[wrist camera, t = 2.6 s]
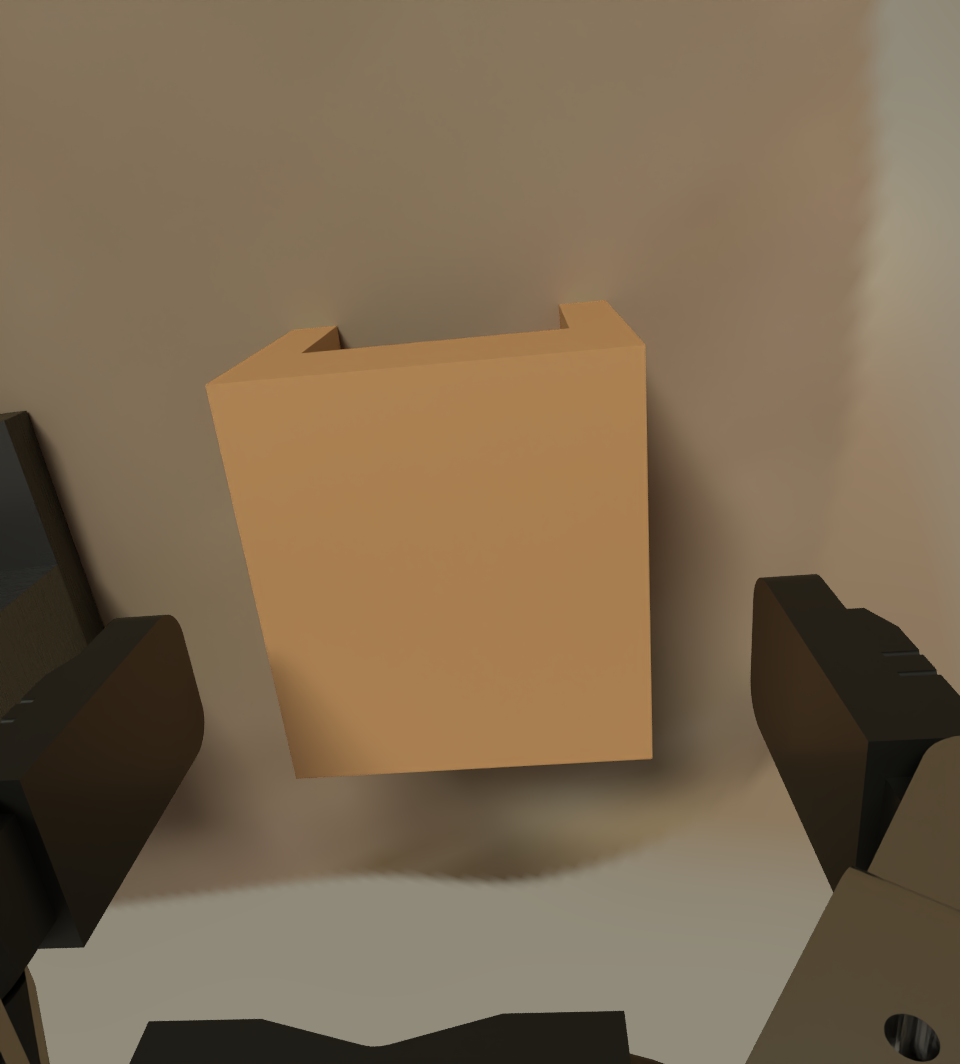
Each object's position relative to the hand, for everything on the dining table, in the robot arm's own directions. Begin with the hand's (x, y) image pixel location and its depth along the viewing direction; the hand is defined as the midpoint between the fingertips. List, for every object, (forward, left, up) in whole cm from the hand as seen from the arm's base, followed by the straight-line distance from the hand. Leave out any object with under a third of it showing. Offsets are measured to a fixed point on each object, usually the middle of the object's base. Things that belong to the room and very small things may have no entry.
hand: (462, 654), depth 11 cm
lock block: (0, 0, -7) cm, 7 cm away
